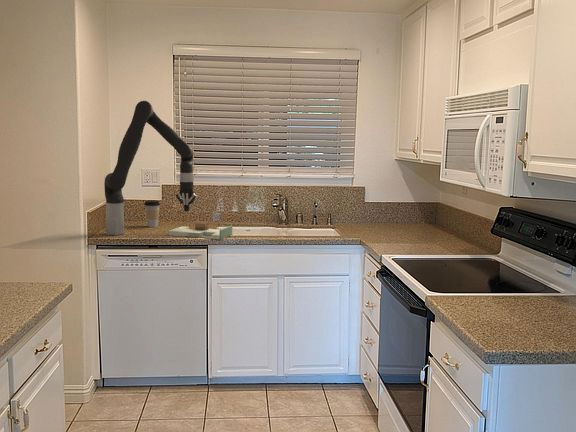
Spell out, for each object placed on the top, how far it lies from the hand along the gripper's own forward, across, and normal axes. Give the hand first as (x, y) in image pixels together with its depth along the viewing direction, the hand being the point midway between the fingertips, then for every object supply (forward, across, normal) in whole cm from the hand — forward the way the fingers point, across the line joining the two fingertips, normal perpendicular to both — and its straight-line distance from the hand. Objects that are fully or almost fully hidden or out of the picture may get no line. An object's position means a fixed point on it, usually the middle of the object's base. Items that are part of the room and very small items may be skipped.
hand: (186, 211), depth 332 cm
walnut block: (+10, +10, -1) cm, 14 cm away
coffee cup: (+12, -27, +10) cm, 31 cm away
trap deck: (+12, +10, -4) cm, 16 cm away
